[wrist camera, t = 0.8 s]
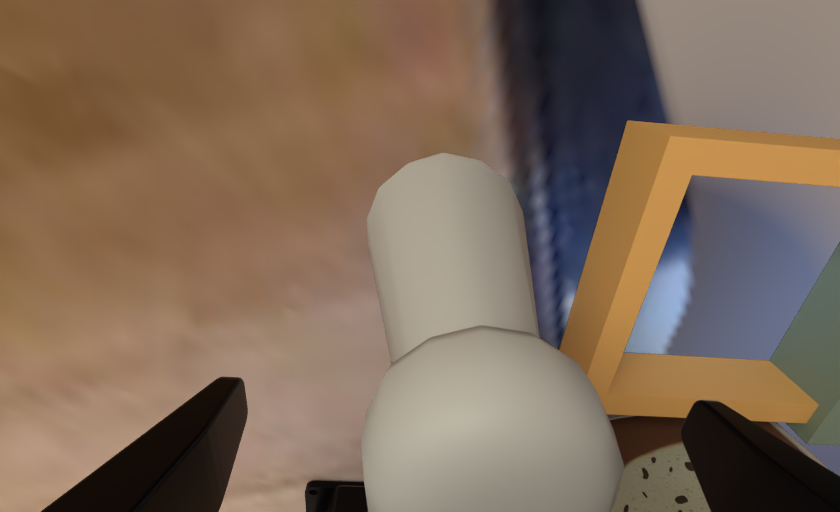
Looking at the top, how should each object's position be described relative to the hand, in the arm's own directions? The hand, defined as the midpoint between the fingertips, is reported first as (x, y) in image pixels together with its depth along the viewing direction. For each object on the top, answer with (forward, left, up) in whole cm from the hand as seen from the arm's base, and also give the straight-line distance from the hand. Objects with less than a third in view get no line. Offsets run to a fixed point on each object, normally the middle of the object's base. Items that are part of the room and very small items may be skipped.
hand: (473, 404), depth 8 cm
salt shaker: (0, 0, -11) cm, 11 cm away
